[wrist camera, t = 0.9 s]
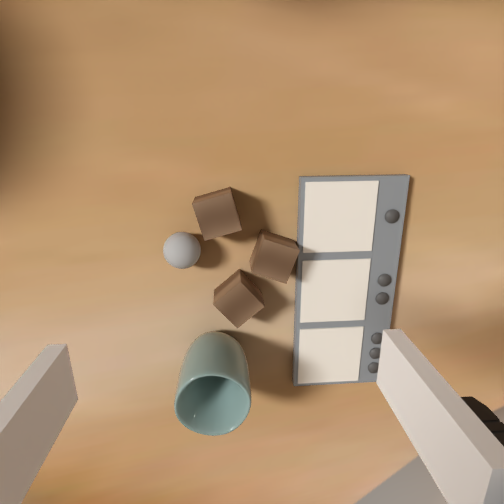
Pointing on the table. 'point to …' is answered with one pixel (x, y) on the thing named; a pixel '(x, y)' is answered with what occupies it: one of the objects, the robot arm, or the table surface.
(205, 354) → the cup
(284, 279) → the walnut block
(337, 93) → the table surface
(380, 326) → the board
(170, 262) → the grey ball
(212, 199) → the walnut block
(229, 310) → the walnut block
